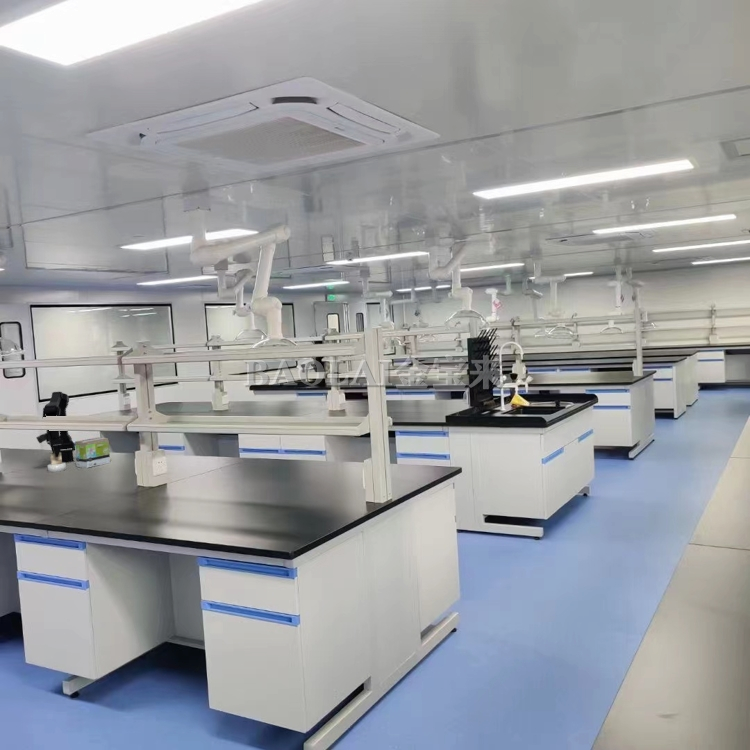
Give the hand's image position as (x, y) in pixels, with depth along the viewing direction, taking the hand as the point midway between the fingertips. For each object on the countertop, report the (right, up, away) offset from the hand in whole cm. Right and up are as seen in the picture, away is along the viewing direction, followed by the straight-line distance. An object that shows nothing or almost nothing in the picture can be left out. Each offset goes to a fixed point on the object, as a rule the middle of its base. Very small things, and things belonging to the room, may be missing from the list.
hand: (55, 455), depth 366 cm
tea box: (+16, -7, +11) cm, 21 cm away
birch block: (0, -5, 0) cm, 5 cm away
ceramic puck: (0, -9, +1) cm, 9 cm away
